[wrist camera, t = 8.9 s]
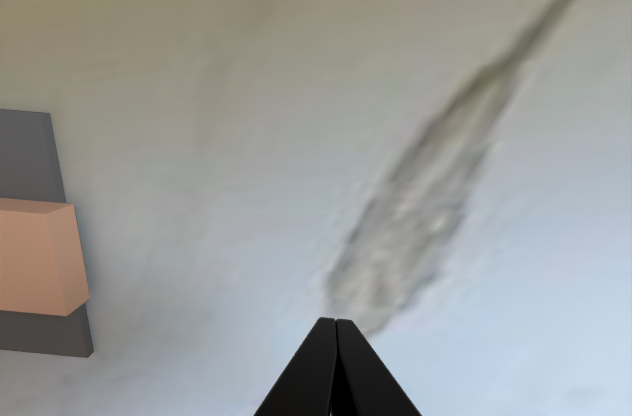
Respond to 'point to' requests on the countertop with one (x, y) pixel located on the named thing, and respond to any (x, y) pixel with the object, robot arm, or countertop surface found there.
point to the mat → (37, 185)
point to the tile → (40, 258)
